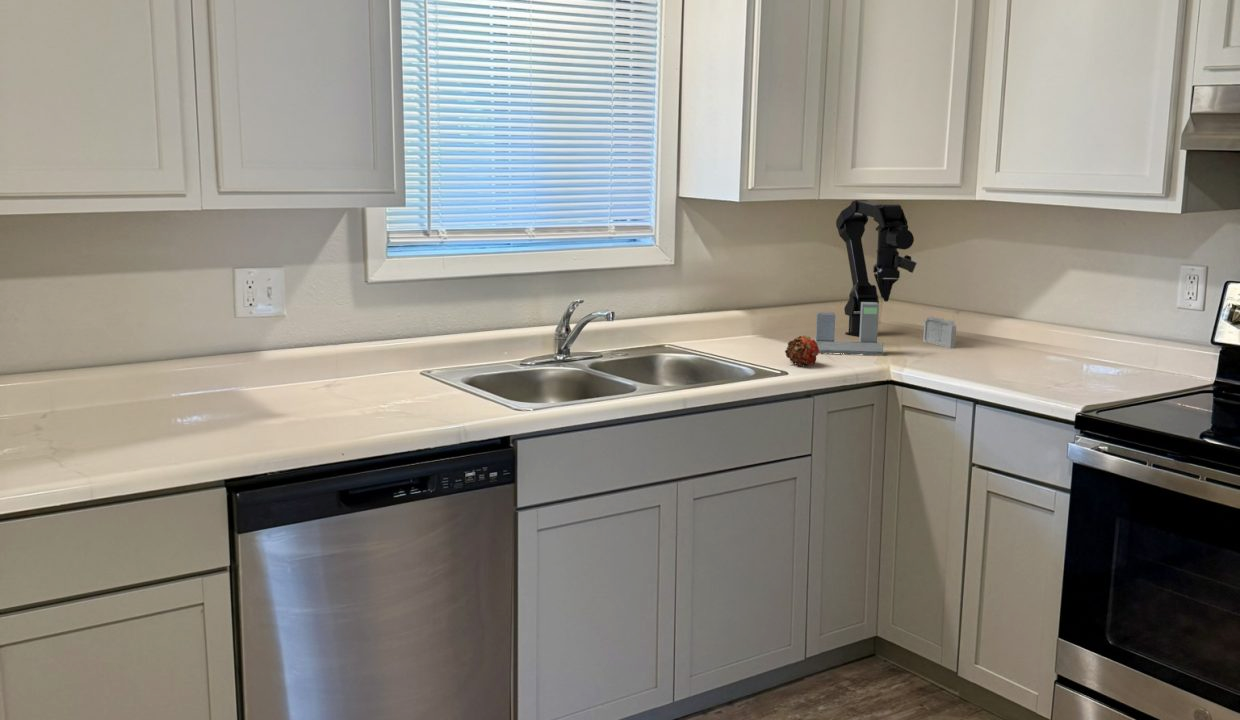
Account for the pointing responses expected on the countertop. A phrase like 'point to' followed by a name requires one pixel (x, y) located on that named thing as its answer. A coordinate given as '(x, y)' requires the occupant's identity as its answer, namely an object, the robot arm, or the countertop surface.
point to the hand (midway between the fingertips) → (884, 299)
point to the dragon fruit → (802, 350)
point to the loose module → (869, 322)
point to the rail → (827, 344)
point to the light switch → (939, 332)
